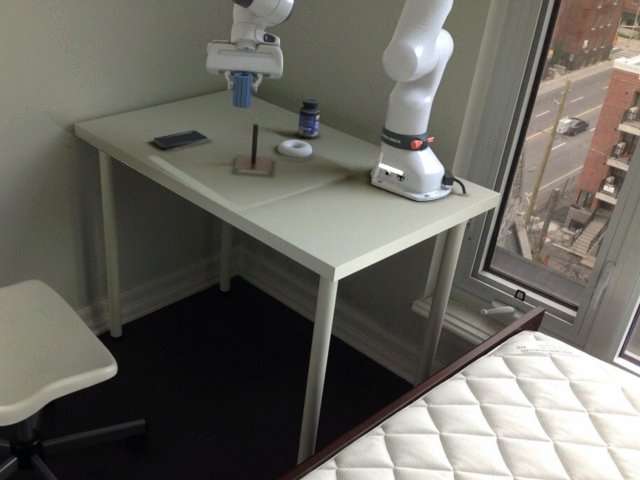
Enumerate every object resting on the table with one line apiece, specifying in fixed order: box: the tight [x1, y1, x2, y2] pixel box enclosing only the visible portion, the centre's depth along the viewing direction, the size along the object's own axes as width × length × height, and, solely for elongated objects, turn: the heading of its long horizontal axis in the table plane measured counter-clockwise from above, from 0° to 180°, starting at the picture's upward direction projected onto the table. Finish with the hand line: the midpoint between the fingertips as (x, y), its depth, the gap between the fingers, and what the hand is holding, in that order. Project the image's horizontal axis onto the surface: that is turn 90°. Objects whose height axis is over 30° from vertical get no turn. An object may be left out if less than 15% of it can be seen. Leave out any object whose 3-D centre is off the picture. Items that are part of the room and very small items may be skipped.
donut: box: [277, 139, 313, 158], centre depth 209 cm, size 10×4×10 cm
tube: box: [232, 72, 254, 109], centre depth 189 cm, size 5×5×8 cm
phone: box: [152, 129, 208, 151], centre depth 213 cm, size 8×1×15 cm
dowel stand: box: [234, 123, 273, 172], centre depth 197 cm, size 10×10×12 cm
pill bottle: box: [297, 97, 321, 140], centre depth 221 cm, size 6×6×11 cm
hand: (242, 90), depth 188 cm, fingers closed on tube, 5 cm apart
